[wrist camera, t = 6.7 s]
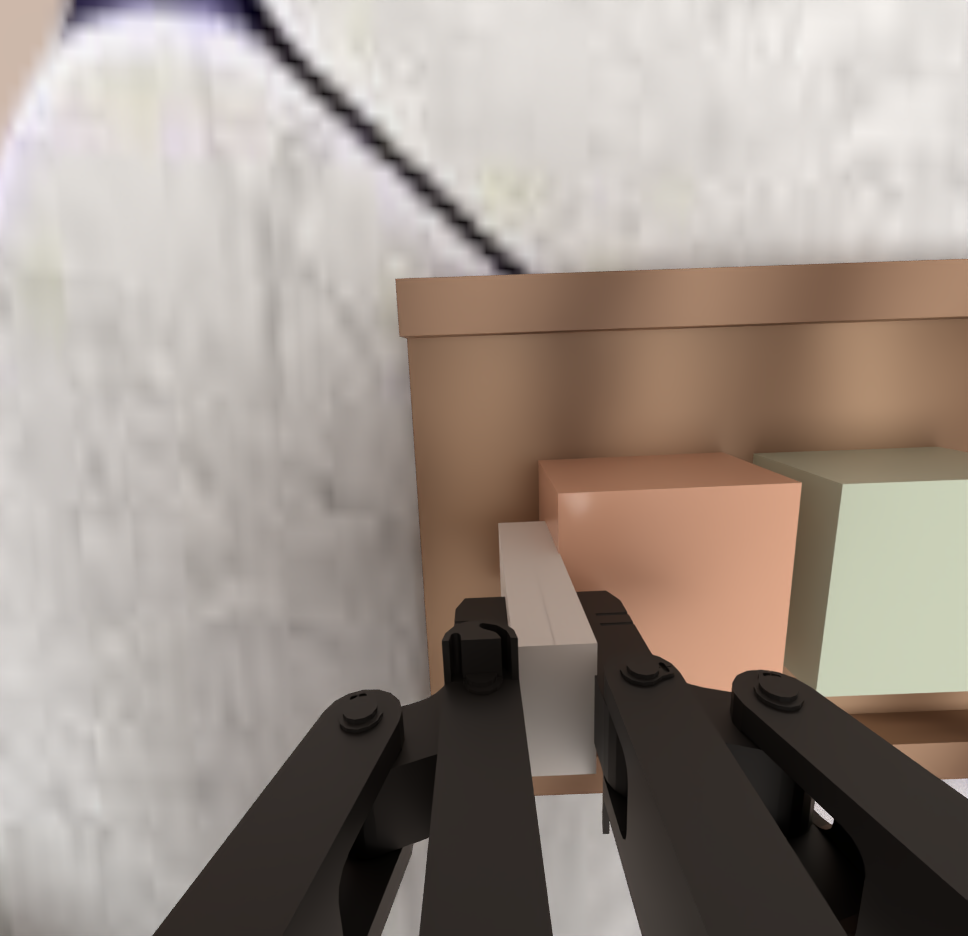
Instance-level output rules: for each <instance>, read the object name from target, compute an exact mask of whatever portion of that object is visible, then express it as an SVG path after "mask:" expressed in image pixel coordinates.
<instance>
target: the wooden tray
mask: <svg viewBox="0 0 968 936" xmlns="http://www.w3.org/2000/svg"><path fill="white" fill-rule="evenodd" d="M396 293H397V307H398V322H399V336H400V337H404V338H407V344H408V359H409V374H410V389H411V404H412V419H413V434H414V449H415V464H416V479H417V494H418V509H419V524H420V539H421V554H422V568H423V583H424V598H425V613H426V628H427V643H428V658H429V673H430V688H431V696H432V695H434V694H435V693H437V692H438V691H439V690H440V689H441V688H442V687H443V686H444V669H443V654H442V639H443V637H444V635H445V633H446V632H447V631H449V630H450V629H451V628H452V627H454V620H455V609H456V608H457V607H458V606H459V604H460V603H461V602H462V601H463V600H464V599H465V598H482V597H501V582H500V556H499V530H498V523H510V522H534V521H539V475H538V460H558V459H581V458H603V457H626V456H649V455H671V454H694V453H717V452H723V453H726V454H728V455H731V456H734V457H736V458H739V459H742V460H744V461H747V462H749V463H752V464H753V456H754V453H777V452H804V451H832V450H859V449H886V448H913V447H942V448H947V449H952V450H957V451H962V452H968V259H950V260H921V261H892V262H864V263H835V264H806V265H778V266H749V267H721V268H692V269H663V270H635V271H606V272H577V273H549V274H520V275H491V276H463V277H434V278H406V279H396ZM782 674H785V675H788V676H791V677H793V678H796V677H795V676H794V675H793V674H792V673H791V672H790V671H789V670H788V669H787V668H786V667H785V666H784V665H783V673H782ZM796 679H797V678H796ZM826 698H827V699H828V700H830V701H831V702H833V703H834V704H835V705H837V706H838V707H840V708H841V709H842V710H844V711H845V712H847V713H848V714H849V715H851V716H852V717H854V718H855V719H856V720H858V721H859V722H861V723H862V724H863V725H865V726H866V727H868V728H869V729H870V730H872V731H873V732H875V733H876V734H877V735H879V736H880V737H882V738H883V739H884V740H886V741H887V742H889V743H890V744H891V745H893V746H894V747H896V748H897V749H898V750H900V751H901V752H903V753H904V754H905V755H907V756H908V757H910V758H911V759H913V760H914V761H915V762H917V763H918V764H920V765H921V766H922V767H924V768H925V769H927V770H928V771H929V772H931V773H932V774H934V775H935V776H936V777H938V778H939V779H963V778H968V691H960V692H935V693H909V694H884V695H858V696H833V697H826ZM532 781H533V789H534V796H539V795H564V794H589V793H603V771H602V767H601V764H600V761H599V757H598V754H597V751H596V774H578V775H557V776H556V775H554V776H532Z"/></svg>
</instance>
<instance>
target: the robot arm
mask: <svg viewBox="0 0 968 936" xmlns="http://www.w3.org/2000/svg"><path fill="white" fill-rule="evenodd" d="M498 530H499V556H500V582H501V597H482V598H465V599H464V600H463V601H462V602H461V603H460V604H459V606H458V607H457V608H456V609H455V620H454V627H452V628H451V629H450V630H449V631H447V632H446V633H445V635H444V637H443V639H442V654H443V669H444V686H443V687H442V688H441V689H440V690H439V691H438V692H437V693H435V694H434V695H432V696H430V697H429V698H427V699H424V700H421V701H419V702H416V703H413V704H409V705H406V706H402V707H401V705H400V702H399V700H398V699H397V698H396V697H395V696H393V695H392V694H391V693H388V692H385V691H382V690H361V691H358V692H354V693H350V694H348V695H346V696H344V697H342V698H340V699H338V700H336V701H335V702H334V703H333V704H332V705H330V706H329V707H328V708H327V709H326V710H325V711H324V712H323V714H322V715H321V716H320V718H319V719H318V720H317V722H316V723H315V724H314V725H313V727H312V728H311V729H310V731H309V732H308V733H307V735H306V736H305V737H304V738H303V740H302V741H301V742H300V744H299V745H298V746H297V748H296V749H295V750H294V752H293V753H292V754H291V755H290V757H289V758H288V759H287V761H286V762H285V763H284V765H283V766H282V767H281V769H280V770H279V771H278V772H277V774H276V775H275V776H274V778H273V779H272V780H271V782H270V783H269V784H268V785H267V787H266V788H265V789H264V791H263V792H262V793H261V795H260V796H259V797H258V799H257V800H256V801H255V802H254V804H253V805H252V806H251V808H250V809H249V810H248V812H247V813H246V814H245V816H244V817H243V818H242V819H241V821H240V822H239V823H238V825H237V826H236V827H235V829H234V830H233V831H232V832H231V834H230V835H229V836H228V838H227V839H226V840H225V842H224V843H223V844H222V846H221V847H220V848H219V849H218V851H217V852H216V853H215V855H214V856H213V857H212V859H211V860H210V861H209V862H208V864H207V865H206V866H205V868H204V869H203V870H202V872H201V873H200V874H199V876H198V877H197V878H196V879H195V881H194V882H193V883H192V885H191V886H190V887H189V889H188V890H187V891H186V893H185V894H184V895H183V896H182V898H181V899H180V900H179V902H178V903H177V904H176V906H175V907H174V908H173V909H172V911H171V912H170V913H169V915H168V916H167V917H166V919H165V920H164V921H163V923H162V924H161V925H160V926H159V928H158V929H157V930H156V932H155V933H154V934H153V936H381V934H382V931H383V929H384V926H385V923H386V921H387V918H388V915H389V913H390V910H391V907H392V905H393V902H394V899H395V897H396V894H397V891H398V889H399V886H400V883H401V881H402V878H403V875H404V873H405V870H406V867H407V865H408V862H409V859H410V857H411V854H412V848H413V843H416V842H418V841H421V840H424V839H426V838H429V843H428V853H427V863H426V873H425V883H424V893H423V903H422V913H421V923H420V933H419V936H553V934H552V927H551V919H550V911H549V904H548V896H547V888H546V881H545V873H544V865H543V858H542V850H541V843H540V835H539V827H538V820H537V812H536V804H535V797H534V789H533V781H532V776H554V775H556V776H557V775H578V774H596V751H597V754H598V757H599V761H600V764H601V767H602V771H603V811H602V825H603V834H609V821H610V824H611V827H612V831H613V834H614V838H615V841H616V845H617V849H618V852H619V856H620V859H621V863H622V866H623V870H624V873H625V877H626V880H627V884H628V888H629V891H630V895H631V898H632V902H633V905H634V909H635V912H636V916H637V920H638V923H639V927H640V930H641V934H642V936H968V799H967V798H966V797H964V796H963V795H962V794H960V793H959V792H957V791H956V790H955V789H953V788H952V787H950V786H949V785H948V784H946V783H945V782H943V781H942V780H941V779H939V778H938V777H936V776H935V775H934V774H932V773H931V772H929V771H928V770H927V769H925V768H924V767H922V766H921V765H920V764H918V763H917V762H915V761H914V760H913V759H911V758H910V757H908V756H907V755H905V754H904V753H903V752H901V751H900V750H898V749H897V748H896V747H894V746H893V745H891V744H890V743H889V742H887V741H886V740H884V739H883V738H882V737H880V736H879V735H877V734H876V733H875V732H873V731H872V730H870V729H869V728H868V727H866V726H865V725H863V724H862V723H861V722H859V721H858V720H856V719H855V718H854V717H852V716H851V715H849V714H848V713H847V712H845V711H844V710H842V709H841V708H840V707H838V706H837V705H835V704H834V703H833V702H831V701H830V700H828V699H827V698H826V697H824V696H823V695H821V694H820V693H819V692H817V691H816V690H814V689H813V688H812V687H810V686H808V685H807V684H805V683H803V682H801V681H799V680H798V679H796V678H793V677H791V676H788V675H785V674H782V673H779V672H775V671H769V670H749V671H745V672H743V673H740V674H738V675H736V677H735V679H734V680H733V682H732V691H731V692H728V691H722V690H716V689H710V688H704V687H700V686H696V685H691V684H689V683H687V682H686V681H685V679H684V678H683V676H682V675H681V673H680V672H679V671H678V670H677V668H676V667H675V666H674V665H673V664H672V663H670V662H668V661H666V660H665V659H663V658H661V657H659V656H656V655H652V653H651V651H650V650H649V648H648V646H647V645H646V643H645V641H644V640H643V638H642V636H641V634H640V633H639V631H638V629H637V628H636V626H635V624H633V621H632V619H631V617H630V616H629V614H627V611H626V609H625V607H624V605H623V604H622V602H621V600H619V599H618V598H616V597H615V596H614V595H612V594H611V593H609V592H608V591H606V590H604V591H582V592H576V591H575V589H574V586H573V584H572V581H571V579H570V577H569V574H568V572H567V569H566V567H565V565H564V562H563V560H562V557H561V555H560V554H559V553H558V551H557V549H556V546H555V544H554V541H553V539H552V537H551V534H550V532H549V529H548V527H547V524H546V522H545V521H534V522H510V523H498ZM815 801H816V802H817V803H818V804H819V805H820V806H821V807H822V808H823V809H824V810H825V811H826V812H827V813H828V814H830V815H831V816H832V817H833V818H834V822H833V825H832V824H829V823H828V822H827V821H826V820H824V819H823V818H822V817H821V816H820V815H819V814H818V813H817V812H816V811H815V810H814V804H815Z"/></svg>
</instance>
